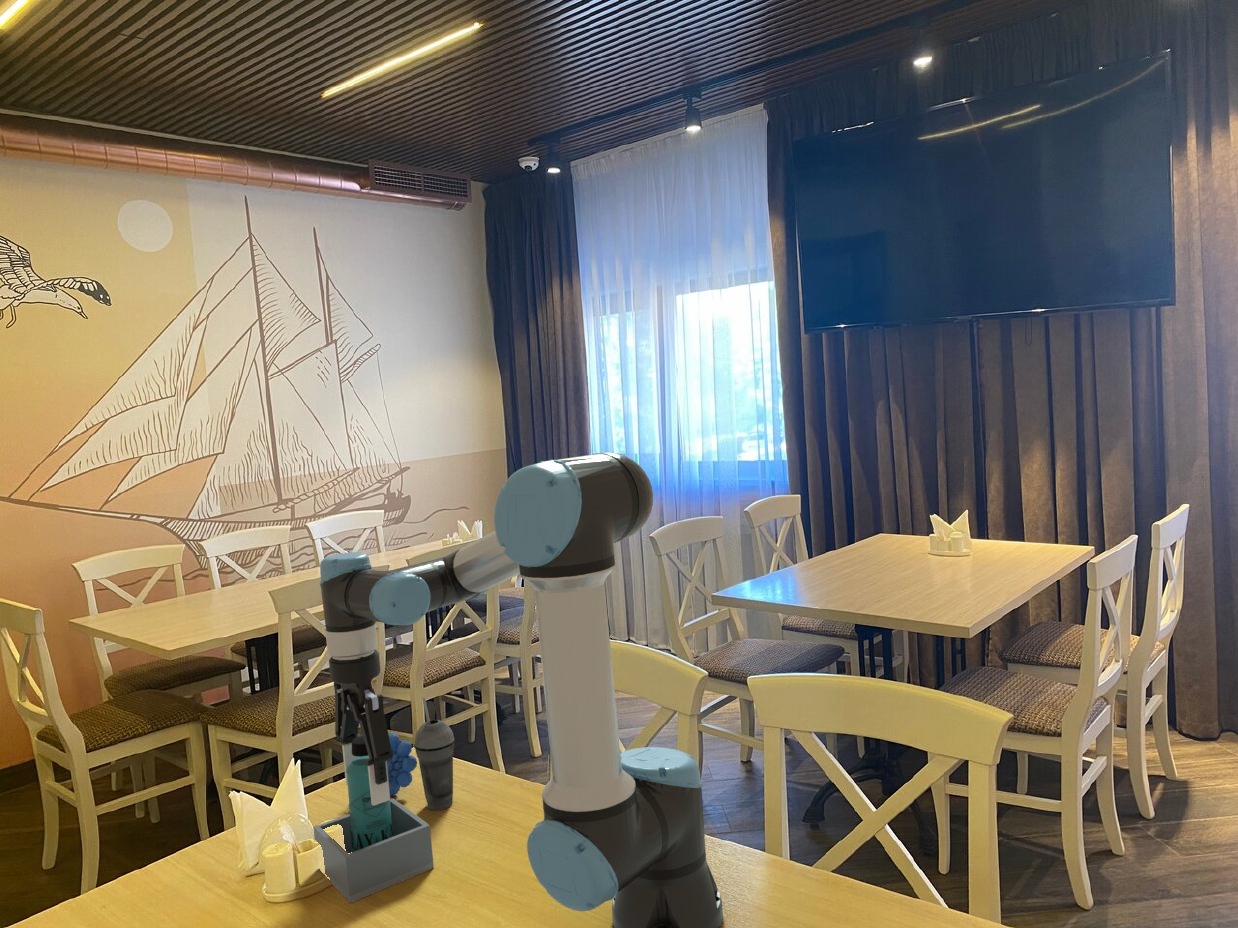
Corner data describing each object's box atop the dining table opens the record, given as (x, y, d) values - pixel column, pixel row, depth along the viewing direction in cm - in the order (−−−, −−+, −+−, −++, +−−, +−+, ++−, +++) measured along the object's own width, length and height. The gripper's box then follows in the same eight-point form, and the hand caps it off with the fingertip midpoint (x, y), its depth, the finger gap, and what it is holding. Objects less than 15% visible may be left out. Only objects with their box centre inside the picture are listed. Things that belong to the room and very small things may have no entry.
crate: (433, 867, 142) (429, 825, 142) (350, 902, 134) (345, 857, 133) (397, 838, 153) (393, 798, 152) (317, 868, 145) (313, 826, 144)
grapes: (430, 786, 173) (424, 725, 172) (413, 802, 166) (407, 739, 165) (376, 783, 176) (370, 723, 175) (357, 799, 169) (351, 737, 168)
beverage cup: (456, 812, 161) (446, 702, 159) (415, 814, 161) (405, 705, 160) (463, 793, 168) (454, 689, 167) (425, 796, 168) (415, 691, 167)
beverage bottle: (345, 863, 143) (333, 740, 141) (381, 845, 148) (370, 727, 146) (368, 876, 139) (355, 750, 137) (404, 857, 144) (393, 735, 142)
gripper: (406, 660, 134) (420, 805, 136) (349, 635, 152) (362, 764, 154) (358, 673, 130) (373, 823, 131) (305, 645, 147) (319, 778, 149)
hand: (367, 791), depth 143 cm, fingers open, 9 cm apart
